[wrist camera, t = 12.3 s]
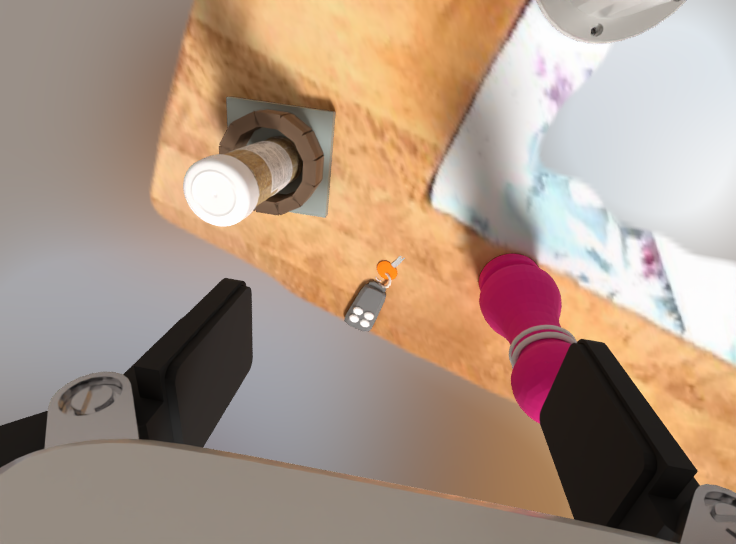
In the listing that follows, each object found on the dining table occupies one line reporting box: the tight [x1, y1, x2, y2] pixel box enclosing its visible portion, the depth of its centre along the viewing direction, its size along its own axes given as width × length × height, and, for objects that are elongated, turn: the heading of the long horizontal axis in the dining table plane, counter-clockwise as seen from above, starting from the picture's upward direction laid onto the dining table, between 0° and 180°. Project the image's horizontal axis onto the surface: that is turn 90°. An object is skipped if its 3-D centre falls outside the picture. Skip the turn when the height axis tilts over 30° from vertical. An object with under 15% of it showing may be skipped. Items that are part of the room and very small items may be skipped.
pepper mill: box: [479, 254, 577, 423], centre depth 31 cm, size 7×7×20 cm
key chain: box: [344, 256, 405, 332], centre depth 42 cm, size 13×4×2 cm, turn 155°
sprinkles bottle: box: [183, 136, 303, 226], centre depth 31 cm, size 5×5×14 cm
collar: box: [219, 97, 335, 218], centre depth 36 cm, size 10×10×4 cm
